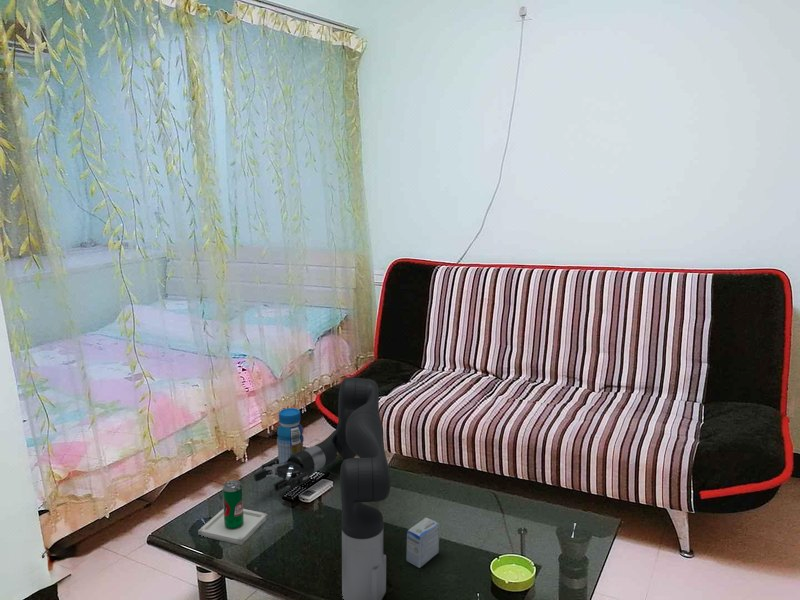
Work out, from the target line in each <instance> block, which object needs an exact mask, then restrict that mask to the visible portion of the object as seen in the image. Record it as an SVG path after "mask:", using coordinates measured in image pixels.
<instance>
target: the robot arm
mask: <svg viewBox="0 0 800 600" xmlns="http://www.w3.org/2000/svg"><path fill="white" fill-rule="evenodd" d="M338 391H339V392H338V399H337V400H338V404H337V405H338V406H337V409H338V410H337V413H338V414H337V415H338V416H337V417H338V419H337V420H338V421H337V425H336V429H335V430H334V431H333V432H331V433H330V434H329V436H327V438H324V440H322V442H319V443H316V444H315V445H313V446H308V447H306V448H305V449H304V448H303V450H302V451H300V452H298V453H296V454H294V455H291V456H290V457H289V459H288V460H287V462H283V463H280V462H279V459H278V458H274V459H273V460H271V461H268V462H266V463H263V464H261V470H260V471H257V472H256V473H254V475H253V478H254V479H253V480H254V481H255V482H259V481H261V480H263V479H265V478H267V477H272V478H282V479H281V480H278V481H276V482H274V484H273V490H274V491H275V492H279V491H281V490H283V489H285V488H290V487H291V489H295V488H298V487H299V486H301V485H303V484H305V483H306V482H308V480H309V479H308V477H309V476H311V475H313V474H314V473H316V472H318V471H319V470H321V469H322V468H324V467H326V466H327V465H329V464H332V463H333V462H335V460H336V459H337V458H338V455H339V457H340V458H341V459H343V461H342V463H341V465H340V470H339V481H340V482H339V484H340V485H339V486H340V499H341V591H342V593H341V597H342V596H343V597H342V600H343V599H344V600H383V598H384V596H385V595H386V593H387V555H386V554H384V515H383V514H382V512H381V511H380V510H379V509H378V508H376V507H374V506H372V505H370V504H367V503H372V502H376V503H377V502H382V501H384V500H386V499H387V498H388V497H389V495H390V493H391V489H392V488H391V487H392V486H391V485H392V483H391V481H392V479H391V472H390V467H389V463H388V459H387V456H386V451H385V444H384V443H385V442H384V433H383V424H382V421H381V415H380V405H379V403H380V402H379V386H378V383H377V382H376V381H375V380H373V379H370V378H361V377H352V376H351V377H350V376H349V377H348V376H347V377H345V378H343V380H342V381H341V383H340V386H339V390H338ZM276 471H277V472H276Z"/></svg>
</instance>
